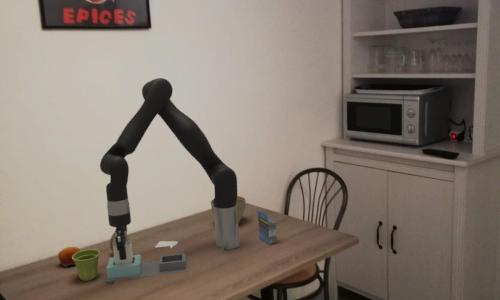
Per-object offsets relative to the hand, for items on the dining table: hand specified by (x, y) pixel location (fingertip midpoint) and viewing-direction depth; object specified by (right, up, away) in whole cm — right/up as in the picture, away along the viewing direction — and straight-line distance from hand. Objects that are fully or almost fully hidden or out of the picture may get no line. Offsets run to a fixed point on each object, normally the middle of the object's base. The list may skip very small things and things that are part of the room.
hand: (123, 256), depth 165 cm
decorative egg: (-7, -4, +20) cm, 22 cm away
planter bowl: (+36, +4, +49) cm, 61 cm away
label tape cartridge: (+53, +1, +26) cm, 59 cm away
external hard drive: (+10, -3, +22) cm, 25 cm away
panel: (+8, -6, +2) cm, 10 cm away
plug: (0, -4, +1) cm, 4 cm away
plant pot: (-13, -8, 0) cm, 15 cm away
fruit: (-24, -6, +12) cm, 28 cm away
